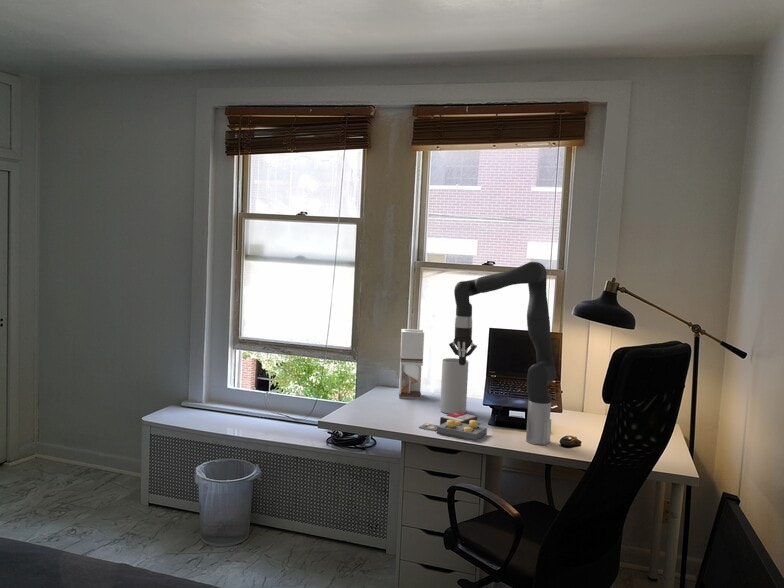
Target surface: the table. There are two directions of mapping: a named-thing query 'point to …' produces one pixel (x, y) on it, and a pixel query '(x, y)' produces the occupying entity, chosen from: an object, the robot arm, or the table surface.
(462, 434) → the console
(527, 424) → the robot arm
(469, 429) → the button
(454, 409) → the cylinder vase
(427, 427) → the card
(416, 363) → the white square dispenser
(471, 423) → the button
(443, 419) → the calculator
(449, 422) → the button
